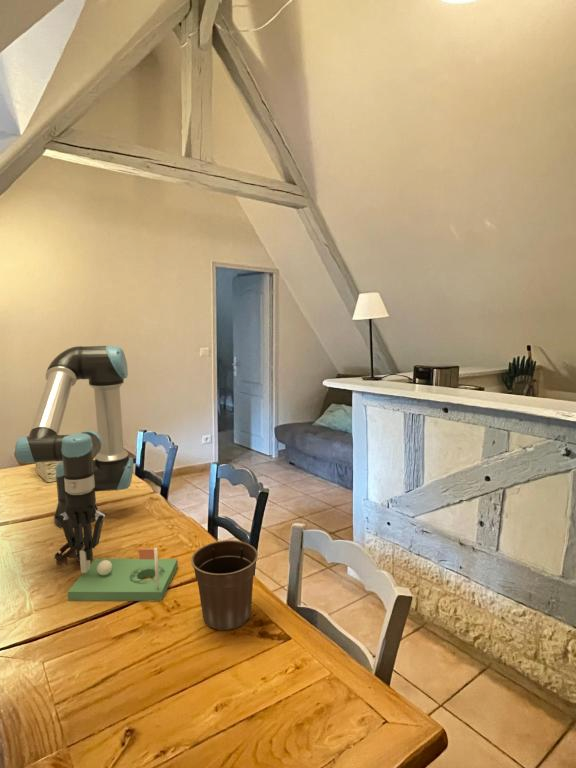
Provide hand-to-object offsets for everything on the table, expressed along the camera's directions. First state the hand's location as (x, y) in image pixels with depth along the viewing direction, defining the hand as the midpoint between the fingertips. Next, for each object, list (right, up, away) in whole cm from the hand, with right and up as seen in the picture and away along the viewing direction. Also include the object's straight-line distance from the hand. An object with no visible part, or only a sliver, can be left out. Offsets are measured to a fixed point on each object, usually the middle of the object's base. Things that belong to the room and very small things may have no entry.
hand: (85, 570), depth 130 cm
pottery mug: (-8, -3, +12) cm, 14 cm away
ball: (+5, +1, 0) cm, 5 cm away
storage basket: (-54, +9, +92) cm, 107 cm away
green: (+11, -4, +1) cm, 12 cm away
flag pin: (+20, -5, -6) cm, 22 cm away
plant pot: (+42, -6, -14) cm, 44 cm away
